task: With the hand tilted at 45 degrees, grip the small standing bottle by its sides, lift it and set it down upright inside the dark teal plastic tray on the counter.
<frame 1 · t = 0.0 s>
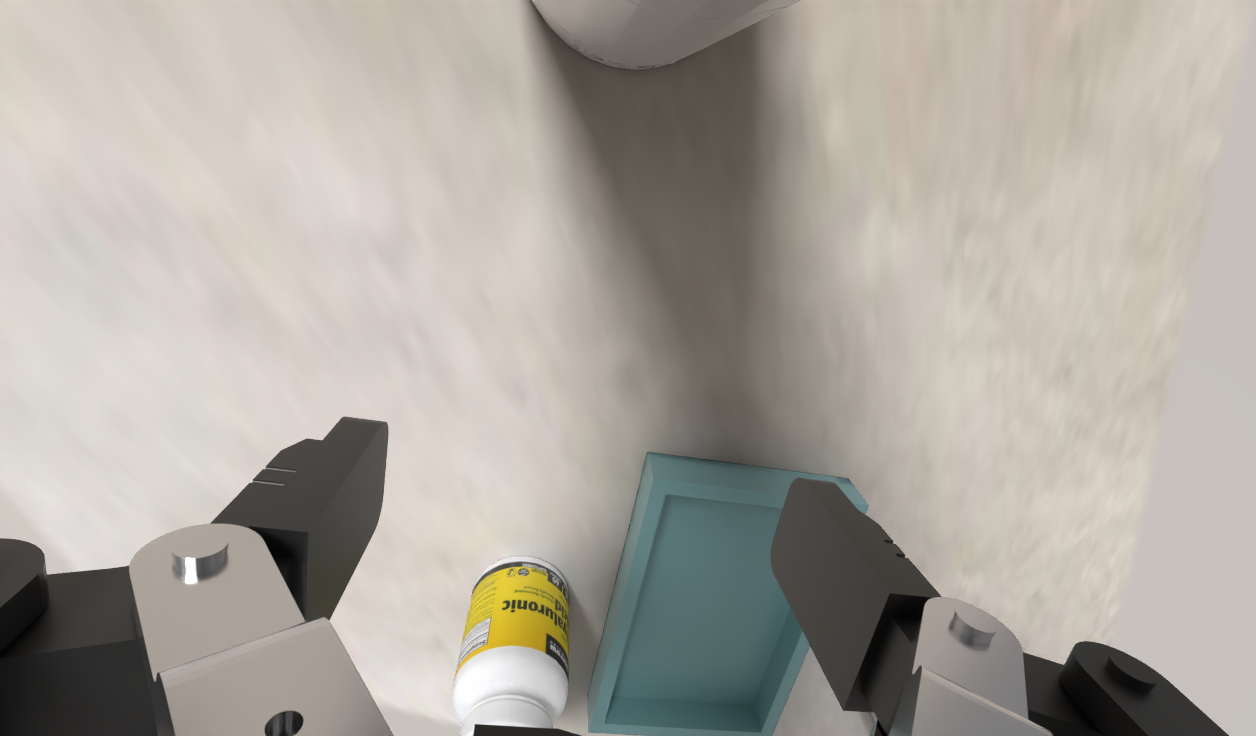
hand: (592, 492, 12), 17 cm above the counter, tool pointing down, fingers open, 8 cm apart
tray: (709, 594, 36), on the counter
supplement bottle: (521, 587, 35), on the counter
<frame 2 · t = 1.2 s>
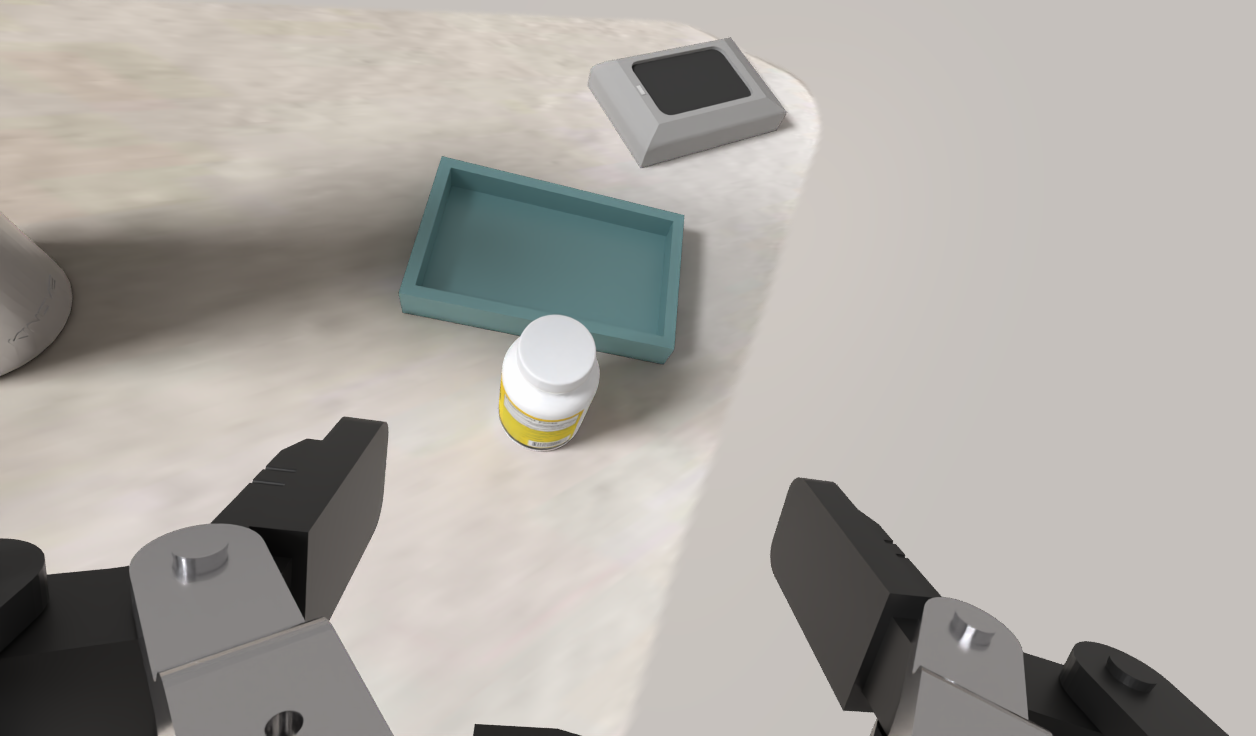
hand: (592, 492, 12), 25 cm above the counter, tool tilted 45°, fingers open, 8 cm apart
gray beveled slab: (682, 113, 54), on the counter
tray: (550, 270, 44), on the counter
supplement bottle: (539, 414, 39), on the counter
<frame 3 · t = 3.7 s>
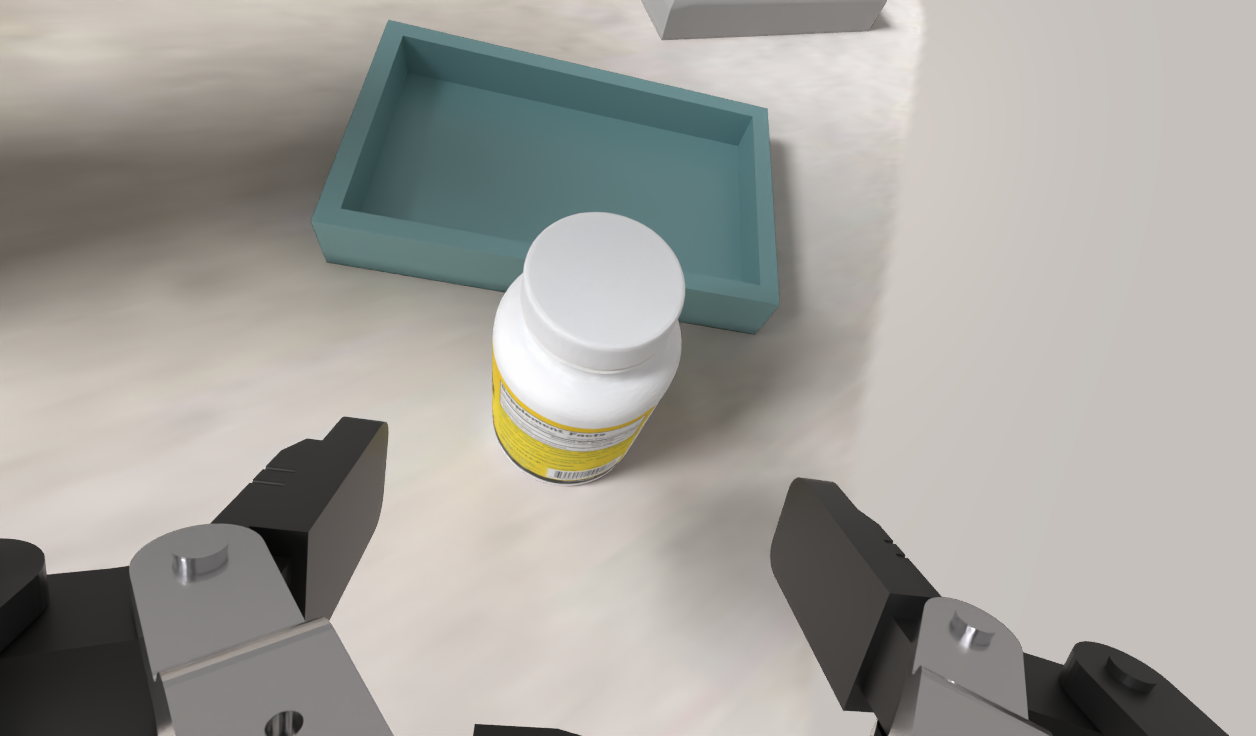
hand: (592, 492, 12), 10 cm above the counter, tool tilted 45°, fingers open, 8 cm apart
tray: (568, 196, 28), on the counter
supplement bottle: (562, 421, 23), on the counter
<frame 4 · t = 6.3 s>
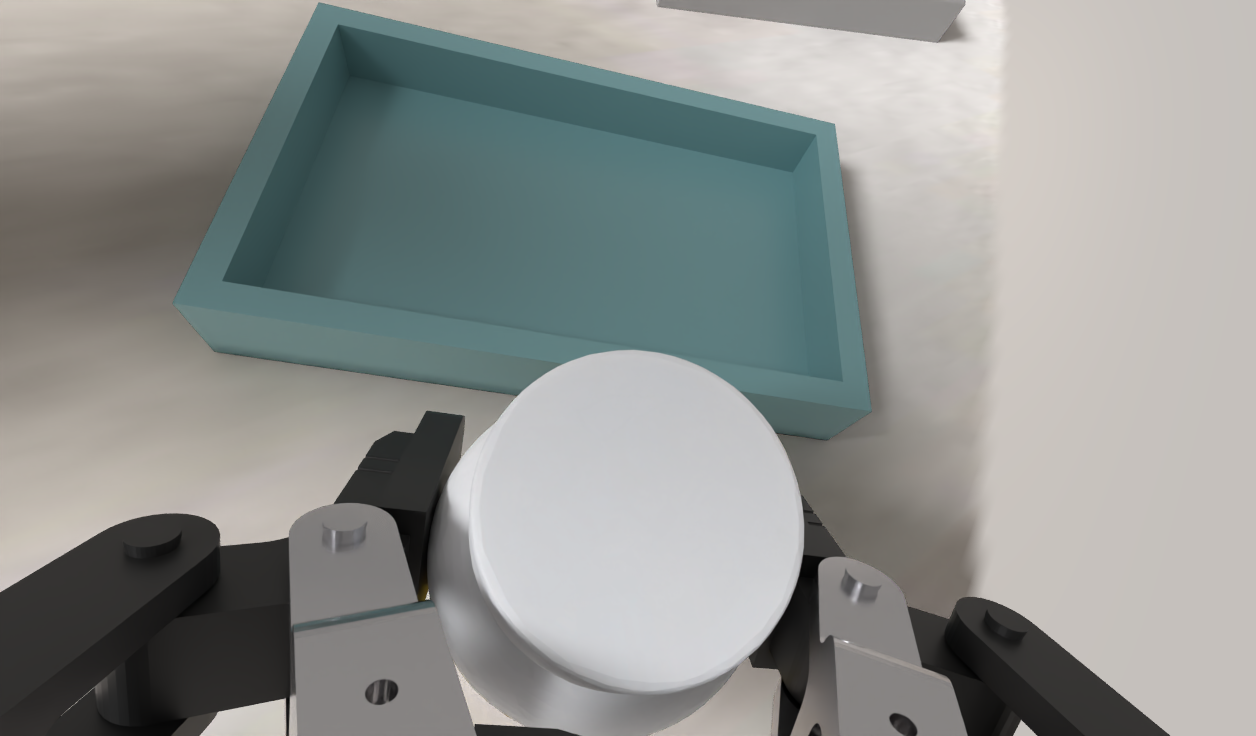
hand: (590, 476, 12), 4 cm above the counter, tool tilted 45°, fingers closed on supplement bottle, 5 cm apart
tray: (567, 244, 20), on the counter
supplement bottle: (557, 591, 16), on the counter, touching gripper
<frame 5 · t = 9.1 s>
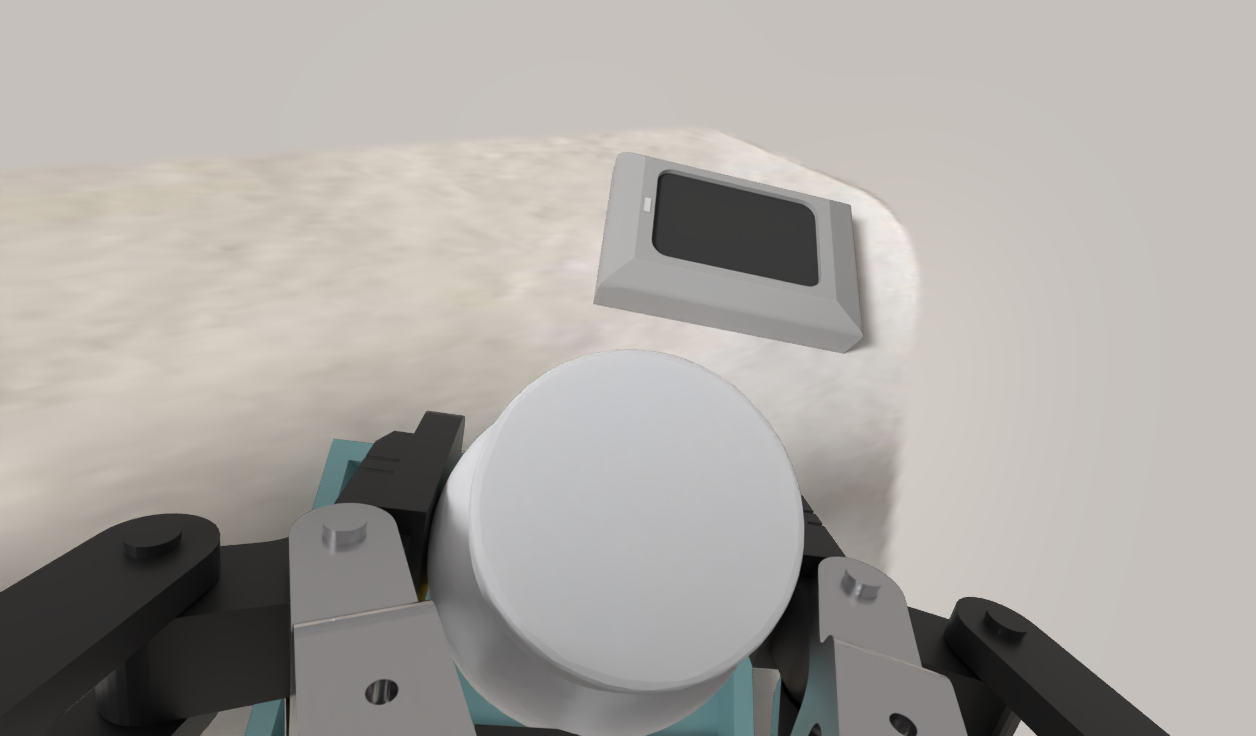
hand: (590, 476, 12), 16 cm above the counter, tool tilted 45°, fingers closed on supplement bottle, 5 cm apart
gray beveled slab: (721, 267, 37), on the counter
tray: (530, 611, 26), on the counter
supplement bottle: (557, 591, 16), point 11 cm above the counter, touching gripper
when the fingers open (6 cm above the counter, at t = 12.1 s): supplement bottle drops 1 cm, resting on tray.
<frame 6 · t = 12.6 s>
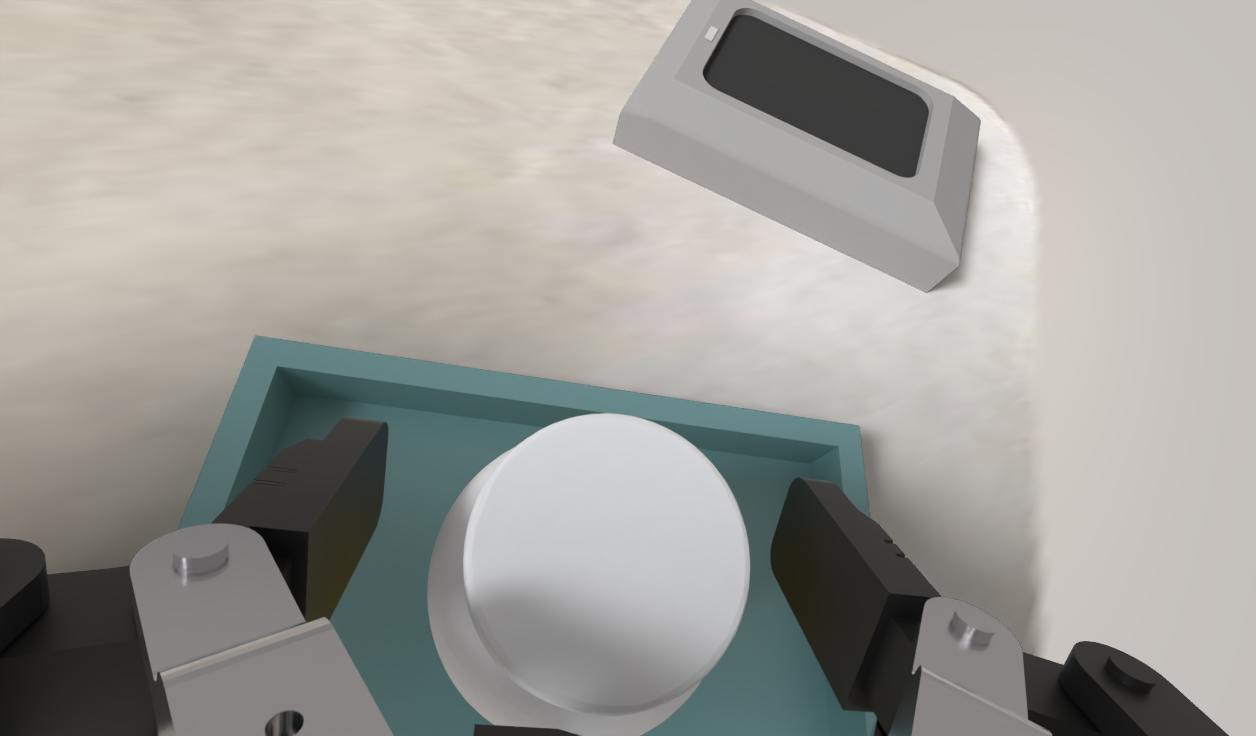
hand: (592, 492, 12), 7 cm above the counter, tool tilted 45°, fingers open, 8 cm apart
gray beveled slab: (790, 159, 29), on the counter
tray: (549, 598, 17), on the counter
supplement bottle: (547, 604, 17), resting on tray
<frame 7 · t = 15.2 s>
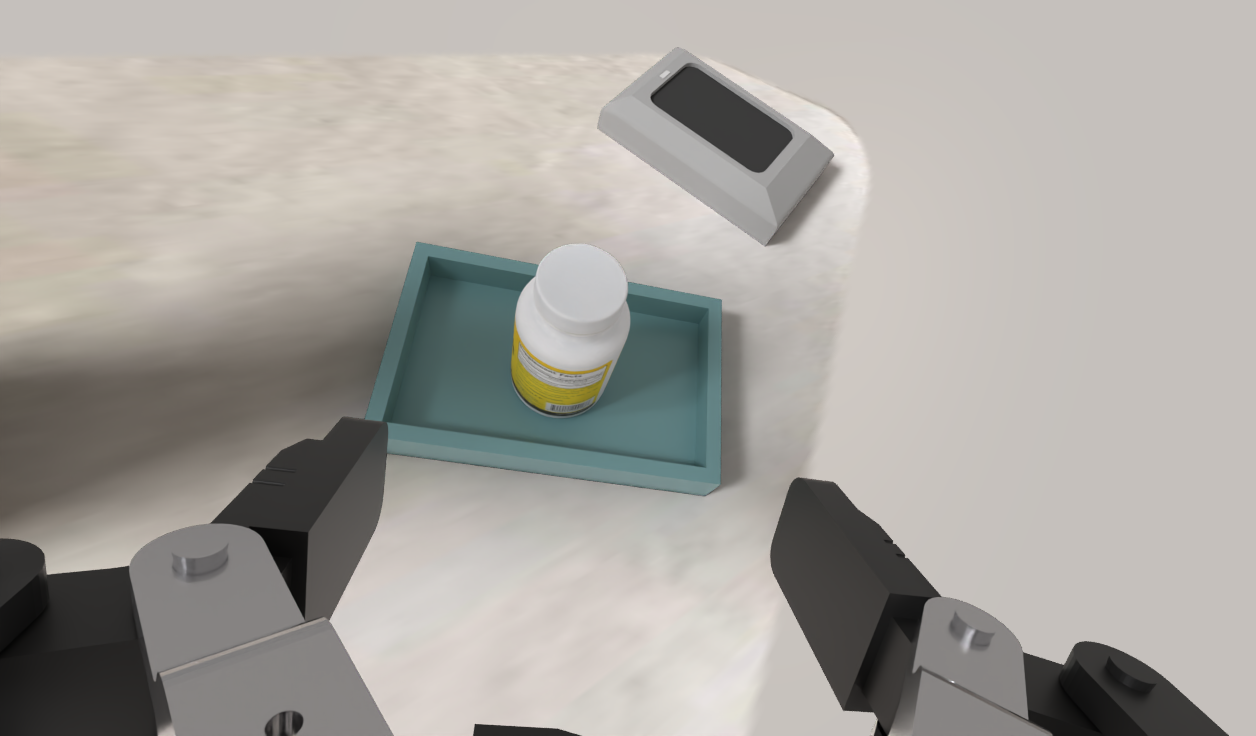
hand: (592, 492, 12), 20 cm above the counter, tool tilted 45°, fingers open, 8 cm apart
gray beveled slab: (709, 158, 46), on the counter
tray: (558, 377, 35), on the counter
supplement bottle: (557, 377, 34), resting on tray
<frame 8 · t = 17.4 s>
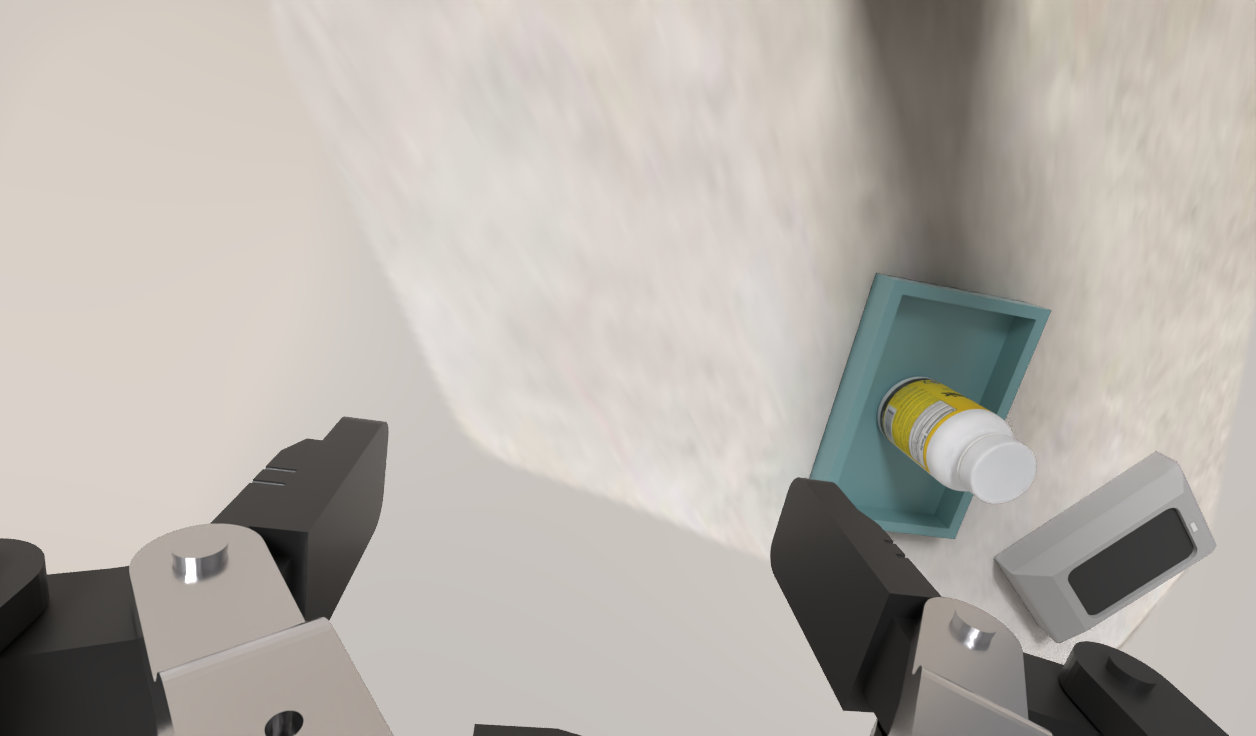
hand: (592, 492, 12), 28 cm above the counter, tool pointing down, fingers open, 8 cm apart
gray beveled slab: (1088, 538, 51), on the counter
tray: (908, 406, 44), on the counter
supplement bottle: (909, 407, 44), resting on tray
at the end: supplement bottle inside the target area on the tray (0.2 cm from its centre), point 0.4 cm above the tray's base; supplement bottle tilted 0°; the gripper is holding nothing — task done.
